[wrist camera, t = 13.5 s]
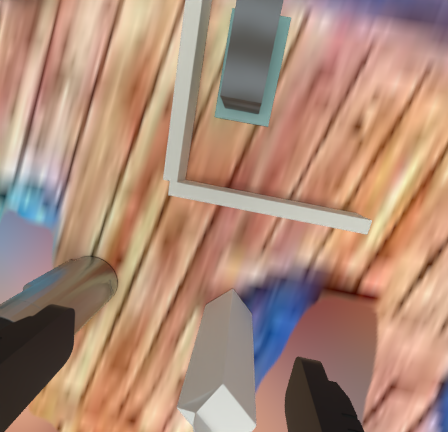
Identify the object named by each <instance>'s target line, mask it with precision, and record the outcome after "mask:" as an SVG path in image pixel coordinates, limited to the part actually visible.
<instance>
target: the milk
mask: <svg viewBox="0 0 448 432" xmlns="http://www.w3.org/2000/svg"><path fill="white" fill-rule="evenodd" d="M177 409H178V410H179V411H180V412H181V413H182V415H183V416H184V417H185V418H186V419H187V421H188V422H189V423H190V424H191V425H192V426H193V431H194V432H252V431H253V429H254V428H255V427H256V405H255V378H254V352H253V326H252V313H251V312H250V311H249V309H248V308H247V307H246V305H245V304H244V303H243V301H242V300H241V299H240V297H239V296H238V295H237V293H236V292H235V291H234V289H231V290H229V291H228V292H226V293H224V294H223V295H221V296H219V297H218V298H216V299H214V300H213V301H211V302H209V303H208V304H206V306H205V309H204V313H203V316H202V320H201V323H200V327H199V330H198V334H197V337H196V341H195V345H194V348H193V352H192V355H191V359H190V362H189V366H188V369H187V373H186V376H185V380H184V384H183V387H182V391H181V394H180V398H179V401H178V405H177Z"/></svg>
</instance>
